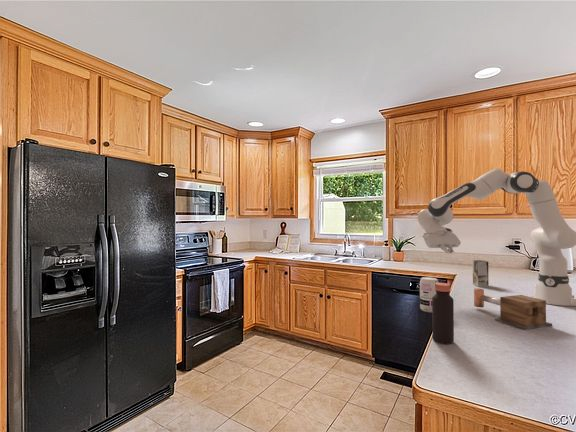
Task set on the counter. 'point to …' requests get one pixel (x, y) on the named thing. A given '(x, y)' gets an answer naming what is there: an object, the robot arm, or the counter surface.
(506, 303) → the block
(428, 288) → the supplement can
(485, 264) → the coffee box
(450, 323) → the bottle
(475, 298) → the shaft
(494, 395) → the counter surface
